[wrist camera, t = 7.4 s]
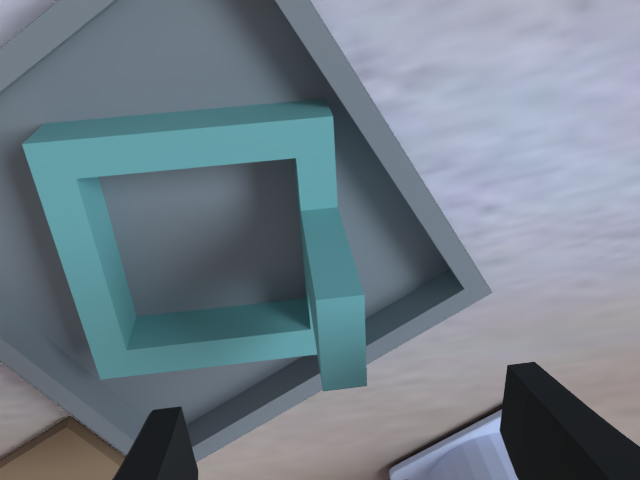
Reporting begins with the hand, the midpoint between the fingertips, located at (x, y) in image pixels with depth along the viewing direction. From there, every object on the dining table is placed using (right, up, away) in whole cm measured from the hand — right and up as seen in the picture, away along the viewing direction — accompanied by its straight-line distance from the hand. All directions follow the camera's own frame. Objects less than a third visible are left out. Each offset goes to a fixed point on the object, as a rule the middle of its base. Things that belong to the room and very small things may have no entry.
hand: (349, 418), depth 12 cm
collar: (-5, +4, +8) cm, 10 cm away
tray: (-5, +4, +8) cm, 11 cm away
